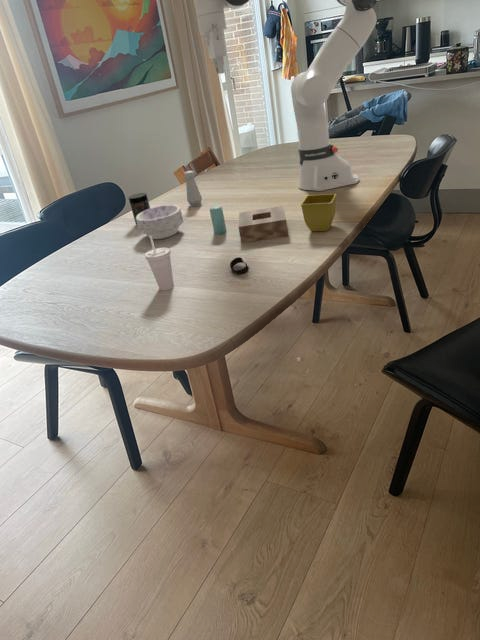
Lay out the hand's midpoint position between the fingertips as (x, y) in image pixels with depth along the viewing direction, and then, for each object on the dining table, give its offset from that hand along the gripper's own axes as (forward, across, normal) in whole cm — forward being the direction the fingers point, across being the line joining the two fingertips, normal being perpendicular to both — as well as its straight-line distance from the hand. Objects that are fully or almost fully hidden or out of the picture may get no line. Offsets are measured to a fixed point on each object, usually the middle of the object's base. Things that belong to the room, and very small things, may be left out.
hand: (220, 73), depth 157 cm
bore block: (+44, -38, -1) cm, 58 cm away
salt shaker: (+44, +9, +17) cm, 48 cm away
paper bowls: (+44, -20, +30) cm, 57 cm away
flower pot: (+44, -46, -17) cm, 66 cm away
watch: (+44, -64, +10) cm, 78 cm away
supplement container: (+44, -2, +37) cm, 58 cm away
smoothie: (+44, -65, +30) cm, 84 cm away
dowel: (+44, -30, +12) cm, 54 cm away
